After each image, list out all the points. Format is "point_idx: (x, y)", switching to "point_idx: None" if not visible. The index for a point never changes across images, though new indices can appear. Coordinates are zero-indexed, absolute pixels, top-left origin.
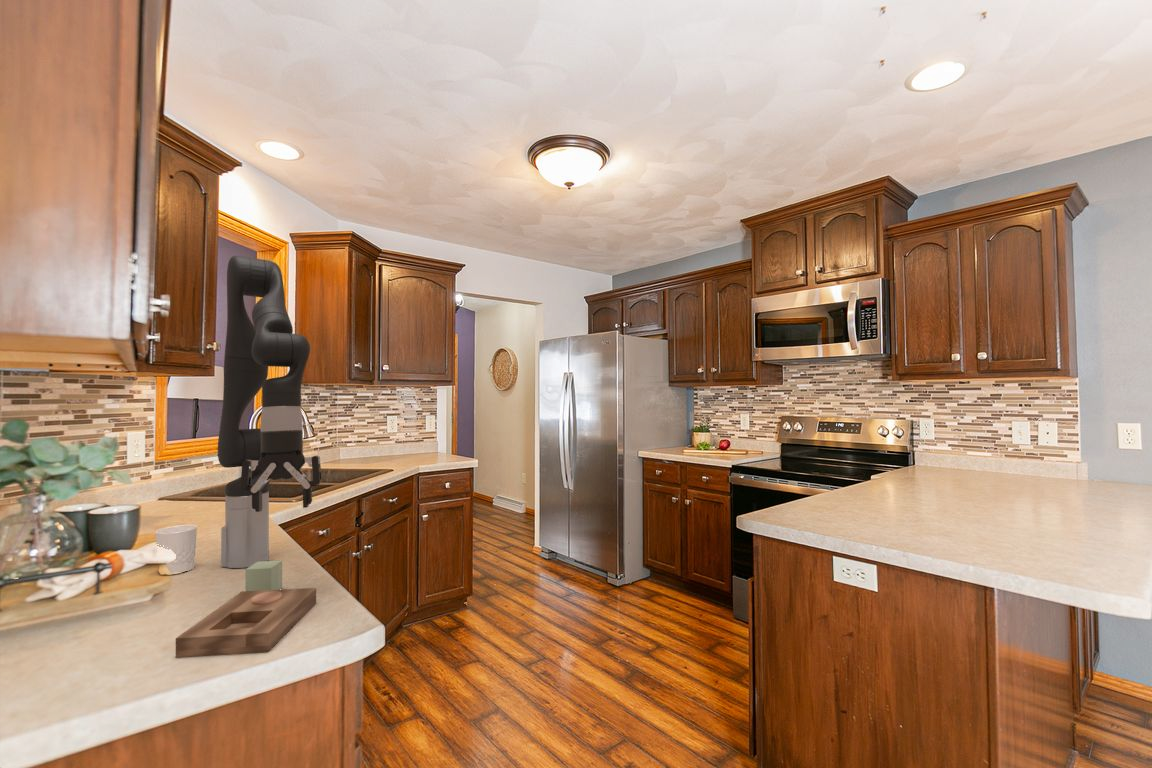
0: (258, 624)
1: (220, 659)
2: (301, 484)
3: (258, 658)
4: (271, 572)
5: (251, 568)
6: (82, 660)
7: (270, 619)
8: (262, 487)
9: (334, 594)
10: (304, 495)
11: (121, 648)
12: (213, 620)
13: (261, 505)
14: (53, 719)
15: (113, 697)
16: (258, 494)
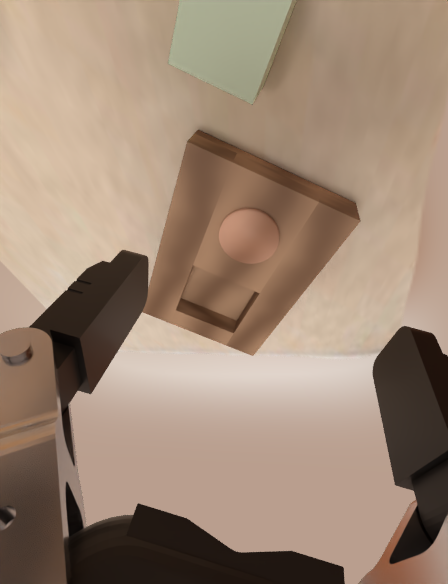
0: (239, 328)
1: None
2: (394, 537)
3: None
4: (255, 98)
5: (186, 61)
6: (37, 242)
7: (255, 323)
8: (55, 373)
9: (417, 164)
10: (396, 439)
11: (64, 229)
12: (172, 282)
13: (133, 284)
14: None
15: (129, 338)
16: (91, 384)
